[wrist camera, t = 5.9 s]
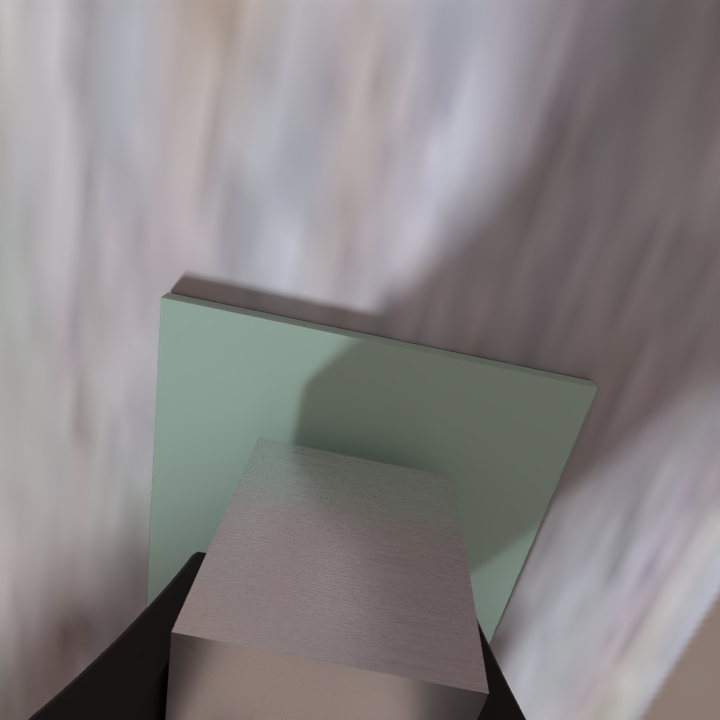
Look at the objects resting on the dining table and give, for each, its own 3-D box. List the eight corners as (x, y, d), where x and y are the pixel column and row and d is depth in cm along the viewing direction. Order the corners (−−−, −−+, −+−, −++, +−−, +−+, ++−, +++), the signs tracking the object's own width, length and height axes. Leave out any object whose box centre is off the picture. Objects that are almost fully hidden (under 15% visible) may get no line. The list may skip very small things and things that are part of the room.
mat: (472, 667, 16) (473, 679, 16) (151, 604, 16) (145, 615, 16) (591, 381, 12) (597, 388, 12) (168, 292, 12) (160, 297, 12)
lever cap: (395, 653, 14) (394, 960, 9) (233, 621, 14) (136, 913, 9) (453, 476, 12) (499, 756, 7) (258, 437, 12) (146, 689, 7)
